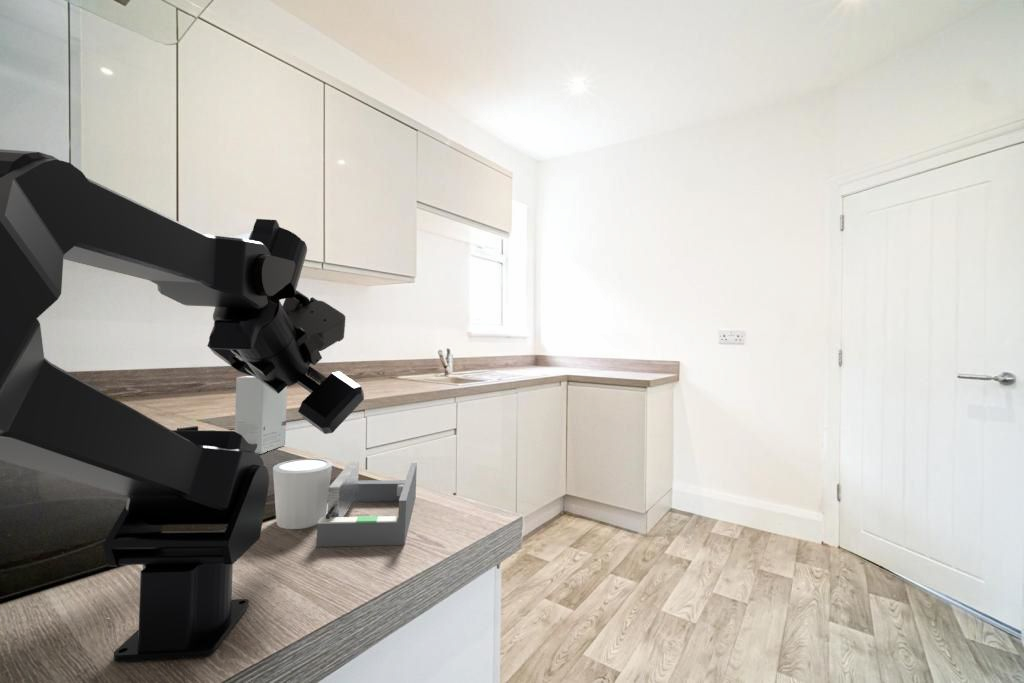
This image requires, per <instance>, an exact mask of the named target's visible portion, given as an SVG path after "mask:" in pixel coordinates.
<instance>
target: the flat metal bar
mask: <svg viewBox="0 0 1024 683" xmlns="http://www.w3.org/2000/svg"><path fill="white" fill-rule="evenodd" d="M359 466H360V462H359V461H349V463H348V464H347V465H346V466H345V467H344V469H343V470H341V472H340V473H339V474H338V476H336V478H335V479H334V481H332V482H331V483H330V487H329V493H328V502H327V512H326V519H330V518H331V517H345V515H346V513H347V512H348V510H349V509H350V507H351V505H352V504H353V500H354V499H355V497H356V496H357V494H358V480H359V472H360V471H359V470H360V468H359Z"/></svg>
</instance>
